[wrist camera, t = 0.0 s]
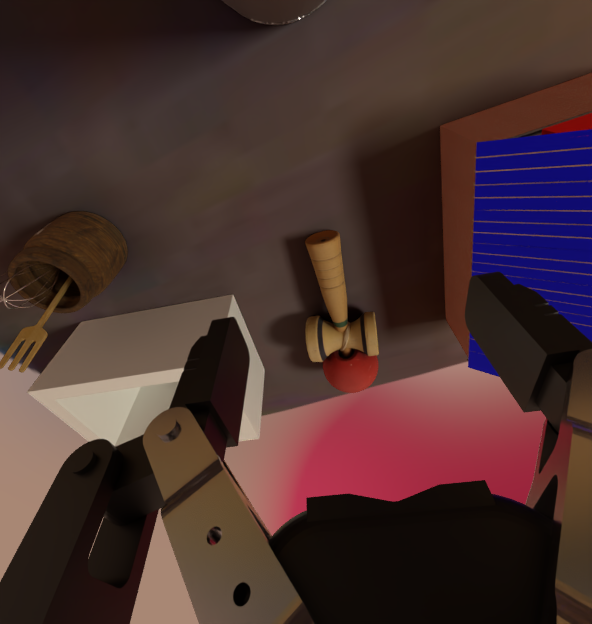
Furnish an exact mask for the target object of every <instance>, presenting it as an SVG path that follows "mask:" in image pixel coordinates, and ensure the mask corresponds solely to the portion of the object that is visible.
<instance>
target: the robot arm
mask: <svg viewBox="0 0 592 624" xmlns="http://www.w3.org/2000/svg"><path fill="white" fill-rule="evenodd" d="M222 1H223V2H224V3H225V4H227V5H228V6H230V7H231V8H233V9H234V10H235V11H237V12H238V13H239V14H241V15H242V16H244V17H246V18H248V19H250V20H252V21H254V22H257V23H261V24H267V25H274V26H276V25H284V24H291V23H294V22H296V21H298V20H300V19H303V18H305V17H307V16H308V15H310V14H311V13H312V12H314V11H315V10H317V9H318V8H319V7H320V6H321V5H322V4H323V3H324V2H325V1H327V0H222ZM465 322H466V326H467V328H468V330H469V332H470V333H471V335H472V336H473V338H474V339H475V341H476V342H477V344H478V345H479V347H480V348H481V350H482V351H483V353H484V354H485V356H486V357H487V359H488V360H489V361H490V363H491V364H492V366H493V367H494V369H495V370H496V372H497V373H498V375H499V376H500V378H501V379H502V381H503V382H504V384H505V385H506V387H507V388H508V390H509V391H510V393H511V394H512V395H513V397H514V398H515V400H516V401H517V403H518V404H519V406H520V407H521V409H522V410H523V412H532V411H540V410H541V411H542V412H543V414H544V415H545V416H546V419H545V422H544V424H543V430H542V436H541V441H540V446H539V451H538V457H537V462H536V468H535V473H534V479H533V483H532V486H531V489H530V492H529V495H528V498H527V501H526V505H524V504H522V503H520V502H517V501H515V500H512V499H509V498H506V497H503V496H499V495H495V494H491V492H490V490H489V488H488V486H487V484H486V482H485V480H482V481H472V482H462V483H452V484H441V485H437V486H435V487H433V488H430V489H427V490H425V491H422V492H420V493H418V494H415V495H413V496H410V497H408V498H406V499H403V500H400V501H396V502H392V501H386V500H380V499H375V498H369V497H364V496H358V495H353V494H340V495H330V496H320V497H311V498H307V511H304V512H302V513H300V514H298V515H296V516H295V517H293V518H292V519H290V520H289V521H288V522H286V523H285V524H284V525H283V526H281V527H280V528H279V530H277V531H276V533H274V535H273V536H272V535H271V534H270V532H269V531H268V529H267V528H266V526H265V524H264V523H263V521H262V520H261V518H260V517H259V515H258V514H257V512H256V511H255V509H254V507H253V506H252V504H251V502H250V501H249V499H248V498H247V496H246V494H245V493H244V491H243V489H242V488H241V486H240V485H239V483H238V481H237V480H236V478H235V476H234V475H233V474H232V472H231V470H230V468H229V467H228V465H227V464H226V462H225V460H224V455H225V450H226V447H233V446H238V441H239V434H240V427H241V420H242V414H243V407H244V400H245V393H246V386H247V379H248V372H249V365H250V355H249V350H248V347H247V344H246V342H245V339H244V337H243V335H242V332H241V330H240V327H239V325H238V323H237V320H236V319H235V317H228V318H222V319H216V320H212V322H211V324H210V327H209V330H208V333H207V335H206V336H200V338H199V339H198V340H197V341H196V342H195V344H194V345H193V346H192V347H191V350H190V353H189V355H188V358H187V362H186V364H185V366H184V371H183V372H182V375H181V377H180V380H179V383H178V385H177V388H176V391H175V394H174V396H173V399H172V402H171V405H170V407H169V409H168V410H166V411H164V412H162V413H160V414H159V415H158V416H157V417H155V418H154V419H153V420H152V421H151V423H150V424H149V425H148V427H147V429H146V430H145V433H144V434H143V435H141V436H139V437H137V438H134V439H132V440H130V441H127V442H125V443H123V444H120V445H118V446H116V447H115V446H114V445H113V444H112V443H111V442H109V441H108V440H106V439H96V440H92V441H90V442H88V443H86V444H84V445H82V446H81V447H79V448H78V449H77V450H75V451H74V452H73V453H72V454H71V455H70V456H69V457H68V459H67V460H66V461H65V462H64V464H63V465H62V467H61V469H60V471H59V473H58V474H57V476H56V478H55V480H54V482H53V484H52V486H51V488H50V489H49V491H48V493H47V495H46V497H45V499H44V501H43V503H42V504H41V506H40V508H39V510H38V512H37V514H36V516H35V518H34V520H33V522H32V523H31V525H30V527H29V529H28V531H27V533H26V535H25V536H24V538H23V540H22V542H21V544H20V546H19V548H18V550H17V551H16V553H15V555H14V557H13V559H12V561H11V563H10V565H9V567H8V568H7V570H6V572H5V574H4V576H3V578H2V580H1V582H0V624H130V620H131V616H132V612H133V608H134V604H135V600H136V596H137V593H138V588H139V584H140V581H141V577H142V573H143V569H144V565H145V561H146V557H147V553H148V549H149V545H150V542H151V537H152V533H153V530H154V526H155V522H156V518H157V514H158V510H159V509H160V508H162V509H161V516H162V520H163V523H164V526H165V528H166V531H167V534H168V537H169V540H170V543H171V545H172V548H173V551H174V554H175V557H176V560H177V562H178V565H179V568H180V571H181V574H182V577H183V579H184V582H185V585H186V588H187V591H188V593H189V596H190V599H191V602H192V605H193V608H194V610H195V613H196V616H197V619H198V622H199V624H592V342H591V341H590V340H589V339H588V338H587V337H586V336H585V335H583V334H582V333H581V332H580V331H579V330H578V329H577V328H576V327H575V326H574V325H572V324H571V323H570V322H569V321H568V320H567V319H566V318H565V317H564V316H563V315H561V314H559V313H558V311H557V310H556V309H555V308H554V307H553V306H552V305H549V303H548V302H547V301H546V300H545V299H544V298H543V297H542V296H541V295H539V294H538V293H537V292H536V291H534V290H531V289H529V288H527V287H525V286H523V285H521V284H515V285H514V284H513V283H512V282H510V281H509V280H508V279H507V278H506V277H505V276H504V275H503V274H502V273H501V272H492V273H486V274H481V275H475V276H472V277H471V279H470V282H469V288H468V294H467V301H466V307H465ZM103 517H104V519H103V522H102V524H101V521H102V518H103ZM100 524H101V527H100ZM99 527H100V529H99ZM98 529H99V532H98ZM97 532H98V535H97ZM96 535H97V537H96ZM95 537H96V540H95ZM94 540H95V543H94ZM93 543H94V546H93V548H92V545H93ZM91 548H92V551H91ZM90 551H91V553H90ZM89 553H90V556H89ZM88 557H89V559H88Z"/></svg>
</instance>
